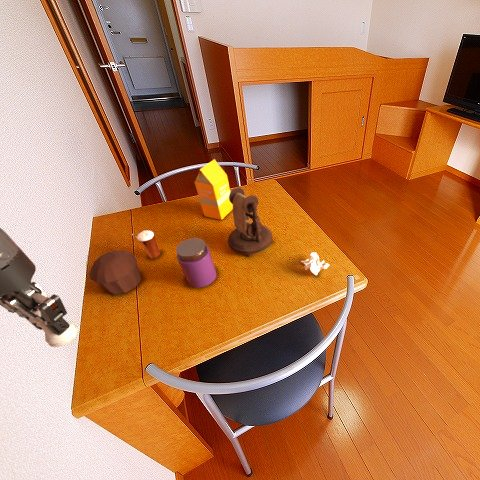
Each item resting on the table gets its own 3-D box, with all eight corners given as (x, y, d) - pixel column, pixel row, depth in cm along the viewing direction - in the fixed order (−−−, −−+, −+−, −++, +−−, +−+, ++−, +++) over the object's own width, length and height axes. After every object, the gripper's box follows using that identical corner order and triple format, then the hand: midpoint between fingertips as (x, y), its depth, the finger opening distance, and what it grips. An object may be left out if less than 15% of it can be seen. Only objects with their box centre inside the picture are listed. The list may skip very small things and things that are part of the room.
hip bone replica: (331, 261, 83) (314, 269, 80) (329, 271, 86) (312, 280, 82) (315, 247, 88) (298, 254, 84) (314, 257, 91) (297, 264, 87)
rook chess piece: (47, 352, 49) (16, 327, 44) (51, 332, 52) (23, 306, 47) (78, 341, 50) (52, 315, 45) (80, 323, 53) (56, 296, 48)
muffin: (109, 271, 83) (92, 246, 76) (149, 265, 85) (136, 241, 79) (95, 302, 74) (74, 277, 68) (140, 295, 76) (124, 270, 70)
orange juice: (204, 216, 105) (189, 167, 92) (217, 204, 112) (205, 157, 99) (222, 220, 104) (209, 171, 91) (234, 207, 110) (224, 160, 97)
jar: (206, 290, 78) (195, 262, 71) (180, 284, 80) (167, 255, 72) (222, 270, 85) (213, 241, 77) (198, 264, 86) (187, 236, 79)
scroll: (220, 243, 94) (206, 192, 81) (254, 224, 103) (246, 175, 90) (247, 264, 87) (237, 212, 74) (281, 241, 95) (277, 191, 83)
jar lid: (196, 264, 72) (194, 259, 71) (171, 258, 74) (169, 253, 72) (212, 246, 78) (210, 240, 76) (189, 240, 79) (187, 235, 78)
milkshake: (144, 253, 89) (131, 228, 83) (162, 248, 91) (151, 224, 84) (144, 262, 86) (130, 237, 80) (162, 257, 88) (151, 233, 81)
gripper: (-92, 265, 36) (1, 336, 48) (-13, 289, 34) (66, 358, 45) (-24, 232, 42) (45, 302, 53) (48, 250, 39) (105, 320, 50)
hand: (54, 327), depth 49 cm, fingers closed on rook chess piece, 3 cm apart
